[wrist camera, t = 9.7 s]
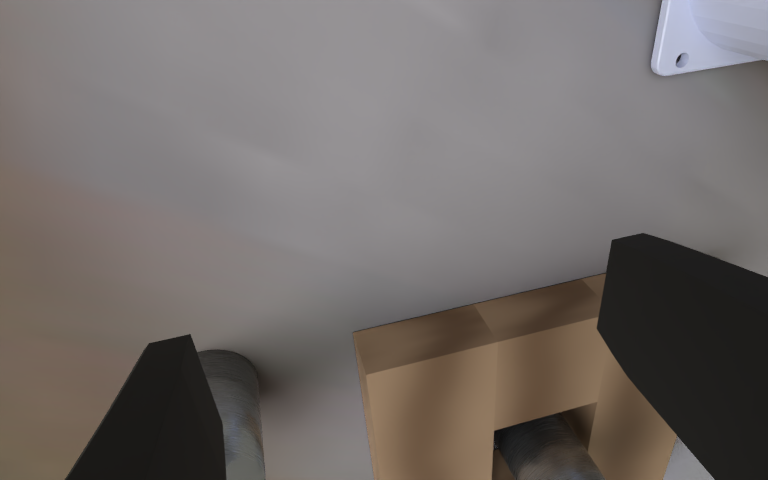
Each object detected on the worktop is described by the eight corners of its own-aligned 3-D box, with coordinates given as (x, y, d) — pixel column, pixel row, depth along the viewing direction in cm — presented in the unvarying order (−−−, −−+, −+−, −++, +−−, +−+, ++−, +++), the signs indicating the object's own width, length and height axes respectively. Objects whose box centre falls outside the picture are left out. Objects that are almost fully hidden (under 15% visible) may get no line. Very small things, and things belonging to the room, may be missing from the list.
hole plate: (684, 254, 25) (726, 285, 23) (629, 465, 34) (655, 501, 32) (352, 332, 23) (366, 374, 20) (383, 540, 31) (394, 584, 29)
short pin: (247, 340, 21) (253, 443, 17) (265, 402, 23) (274, 507, 19) (153, 362, 21) (136, 473, 17) (179, 423, 23) (170, 537, 19)
